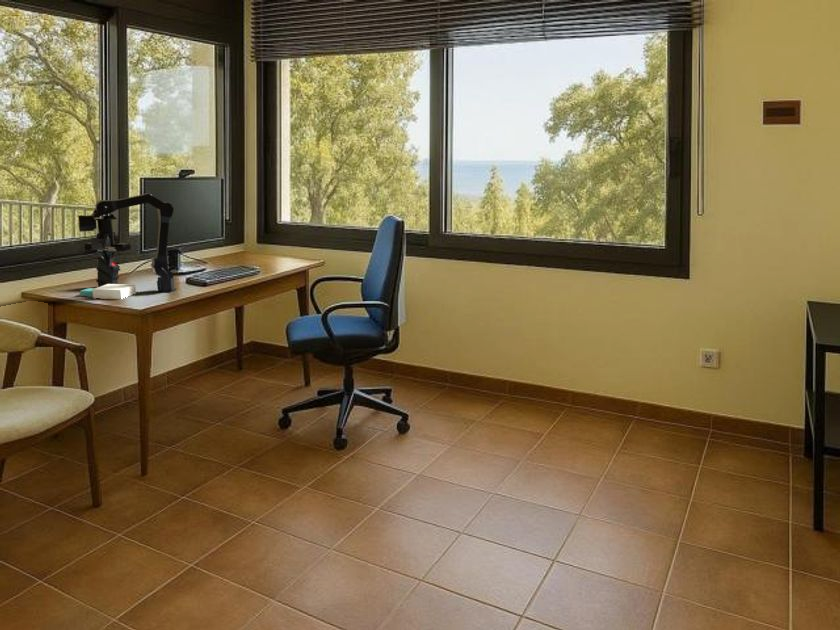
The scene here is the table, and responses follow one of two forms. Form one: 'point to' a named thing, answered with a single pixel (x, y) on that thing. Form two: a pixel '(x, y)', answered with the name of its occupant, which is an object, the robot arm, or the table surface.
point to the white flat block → (114, 291)
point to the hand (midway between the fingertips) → (109, 266)
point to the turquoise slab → (87, 292)
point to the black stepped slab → (107, 272)
